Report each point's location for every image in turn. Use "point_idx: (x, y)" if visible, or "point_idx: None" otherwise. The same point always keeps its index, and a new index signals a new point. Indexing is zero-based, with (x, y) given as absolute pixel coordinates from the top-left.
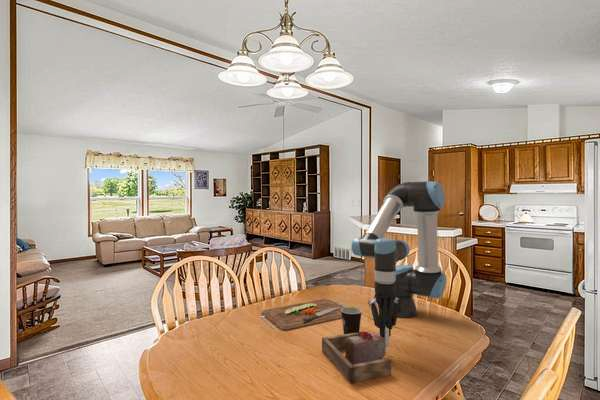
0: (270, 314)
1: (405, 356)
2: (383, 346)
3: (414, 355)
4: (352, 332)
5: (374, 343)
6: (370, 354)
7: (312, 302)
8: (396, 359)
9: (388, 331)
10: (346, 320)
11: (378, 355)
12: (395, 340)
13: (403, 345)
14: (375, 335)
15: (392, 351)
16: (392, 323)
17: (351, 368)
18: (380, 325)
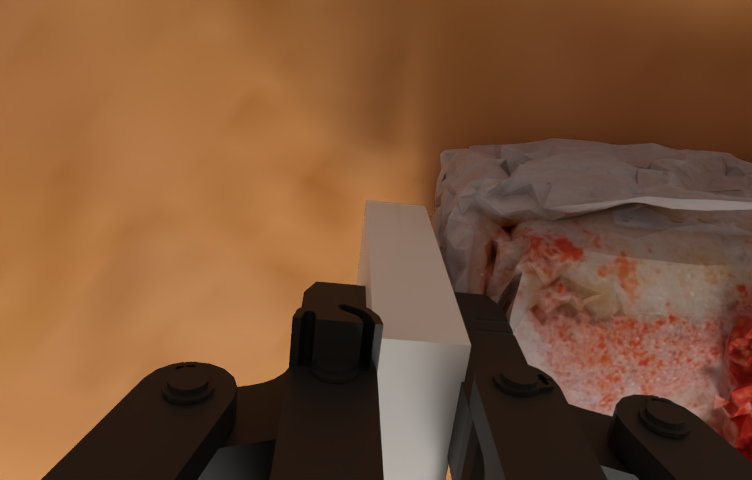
0: None
1: (151, 97)
2: (530, 164)
3: (22, 66)
4: None
5: (742, 200)
6: (727, 157)
7: None
8: (306, 88)
9: (387, 309)
10: None
11: (581, 142)
12: (28, 440)
13: (6, 318)
14: (604, 365)
15: (223, 261)
16: (227, 425)
17: None
18: (655, 439)
